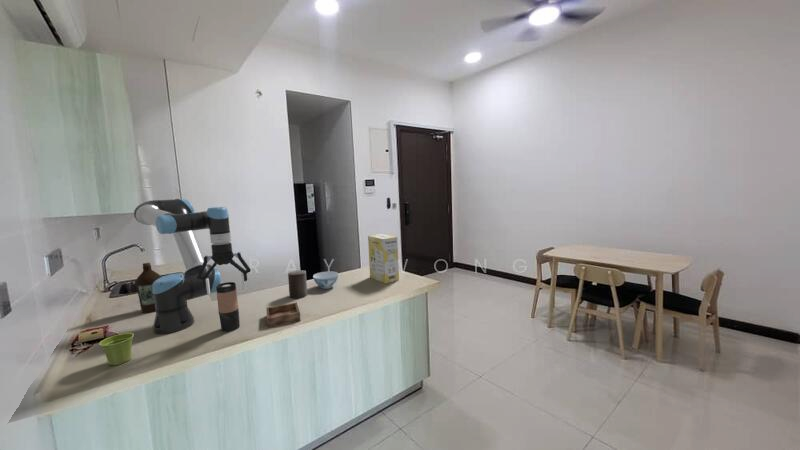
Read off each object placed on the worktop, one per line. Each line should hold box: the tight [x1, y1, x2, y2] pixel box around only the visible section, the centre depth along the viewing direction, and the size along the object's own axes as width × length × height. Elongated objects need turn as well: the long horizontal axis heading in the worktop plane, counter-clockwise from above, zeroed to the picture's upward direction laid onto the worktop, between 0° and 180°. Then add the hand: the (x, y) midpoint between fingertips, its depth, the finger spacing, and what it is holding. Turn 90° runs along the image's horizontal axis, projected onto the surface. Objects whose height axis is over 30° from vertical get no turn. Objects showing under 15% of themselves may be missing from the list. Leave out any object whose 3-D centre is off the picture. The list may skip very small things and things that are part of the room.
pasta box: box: [367, 233, 400, 285], centre depth 201 cm, size 18×10×28 cm, turn 37°
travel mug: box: [216, 281, 240, 333], centre depth 137 cm, size 8×8×20 cm
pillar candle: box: [287, 269, 308, 300], centre depth 176 cm, size 10×10×15 cm
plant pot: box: [98, 332, 135, 366], centre depth 114 cm, size 9×9×9 cm
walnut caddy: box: [266, 302, 301, 328], centre depth 147 cm, size 14×14×4 cm
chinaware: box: [312, 270, 339, 290], centre depth 190 cm, size 15×15×8 cm
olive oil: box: [135, 262, 162, 314], centre depth 163 cm, size 11×11×25 cm
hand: (226, 291), depth 136 cm, fingers open, 13 cm apart
